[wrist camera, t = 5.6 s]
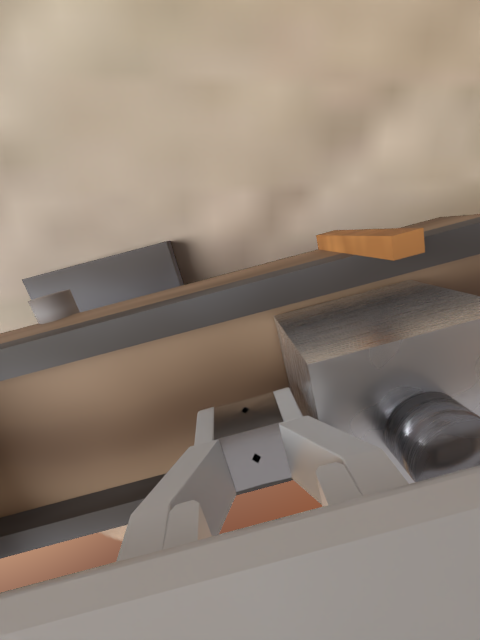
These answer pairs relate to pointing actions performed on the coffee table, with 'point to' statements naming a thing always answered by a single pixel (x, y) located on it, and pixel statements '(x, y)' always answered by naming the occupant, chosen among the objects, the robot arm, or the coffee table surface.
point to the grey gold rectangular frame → (168, 363)
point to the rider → (392, 372)
